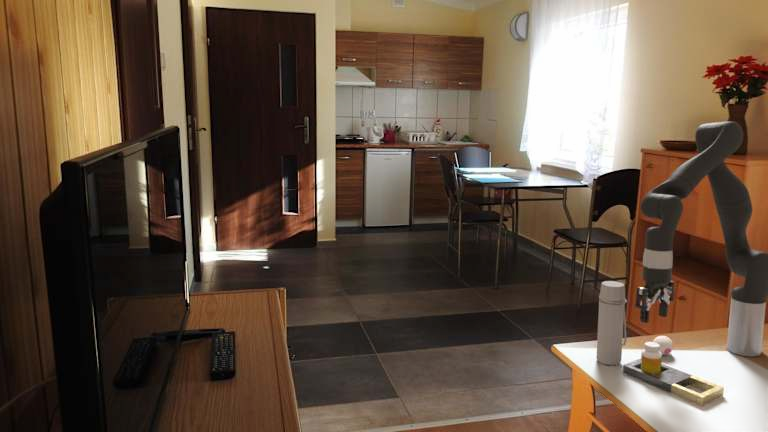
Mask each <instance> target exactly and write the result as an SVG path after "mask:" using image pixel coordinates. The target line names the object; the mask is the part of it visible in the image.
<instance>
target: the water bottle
mask: <svg viewBox="0 0 768 432" xmlns="http://www.w3.org/2000/svg"><path fill="white" fill-rule="evenodd" d="M625 286H626V284H624V283H623V282H621V281H616V280H605V281H602V282H601V283H600V291H599V295H598V299H599V300H598V317H597V319H598V320H597V339H596V340H597V341H596V360H597V361H598V362H599V363H600V364H603V365H606V366H617V365H620V364H621V362H622V353H623V346H626V343H627V321H626V319H627V318H626V304H627V302H628V300H627V299H626V287H625ZM623 334H624V335H623ZM623 337H624V339H623Z"/></svg>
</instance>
